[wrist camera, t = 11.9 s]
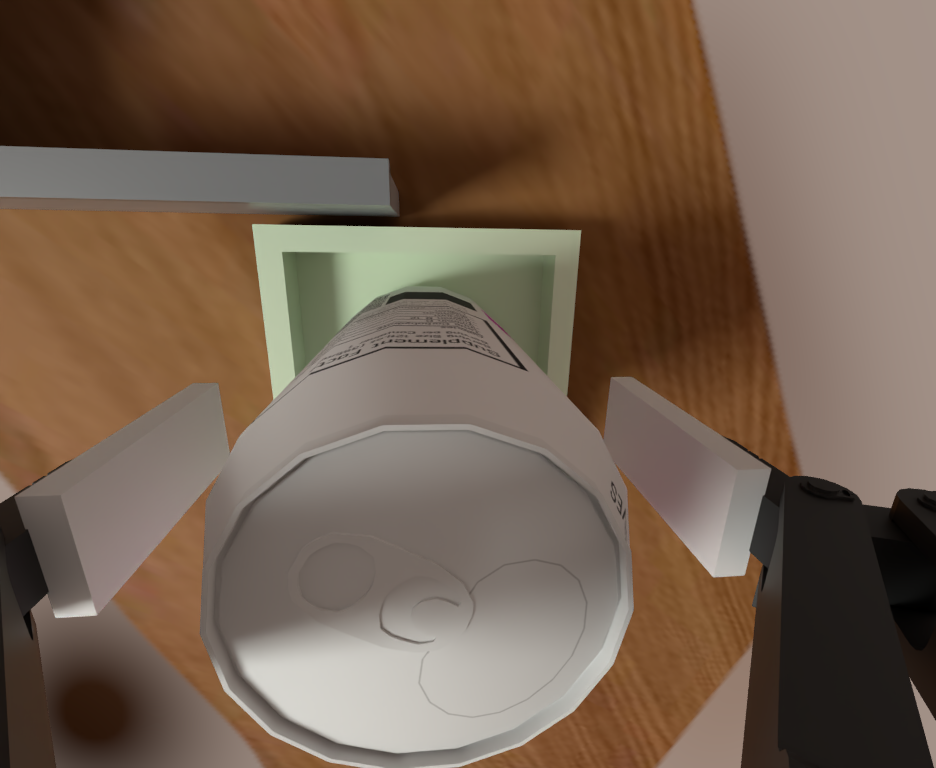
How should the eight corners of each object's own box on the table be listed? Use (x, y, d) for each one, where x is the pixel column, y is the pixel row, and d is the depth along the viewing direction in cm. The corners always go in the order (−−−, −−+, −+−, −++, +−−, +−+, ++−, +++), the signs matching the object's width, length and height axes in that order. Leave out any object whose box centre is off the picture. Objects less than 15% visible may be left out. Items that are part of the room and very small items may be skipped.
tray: (272, 226, 19) (252, 224, 17) (563, 231, 21) (581, 230, 18) (301, 490, 23) (288, 517, 21) (545, 481, 25) (557, 506, 22)
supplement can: (540, 340, 22) (767, 527, 7) (452, 474, 23) (499, 837, 9) (390, 248, 20) (306, 261, 5) (307, 402, 21) (77, 717, 7)
